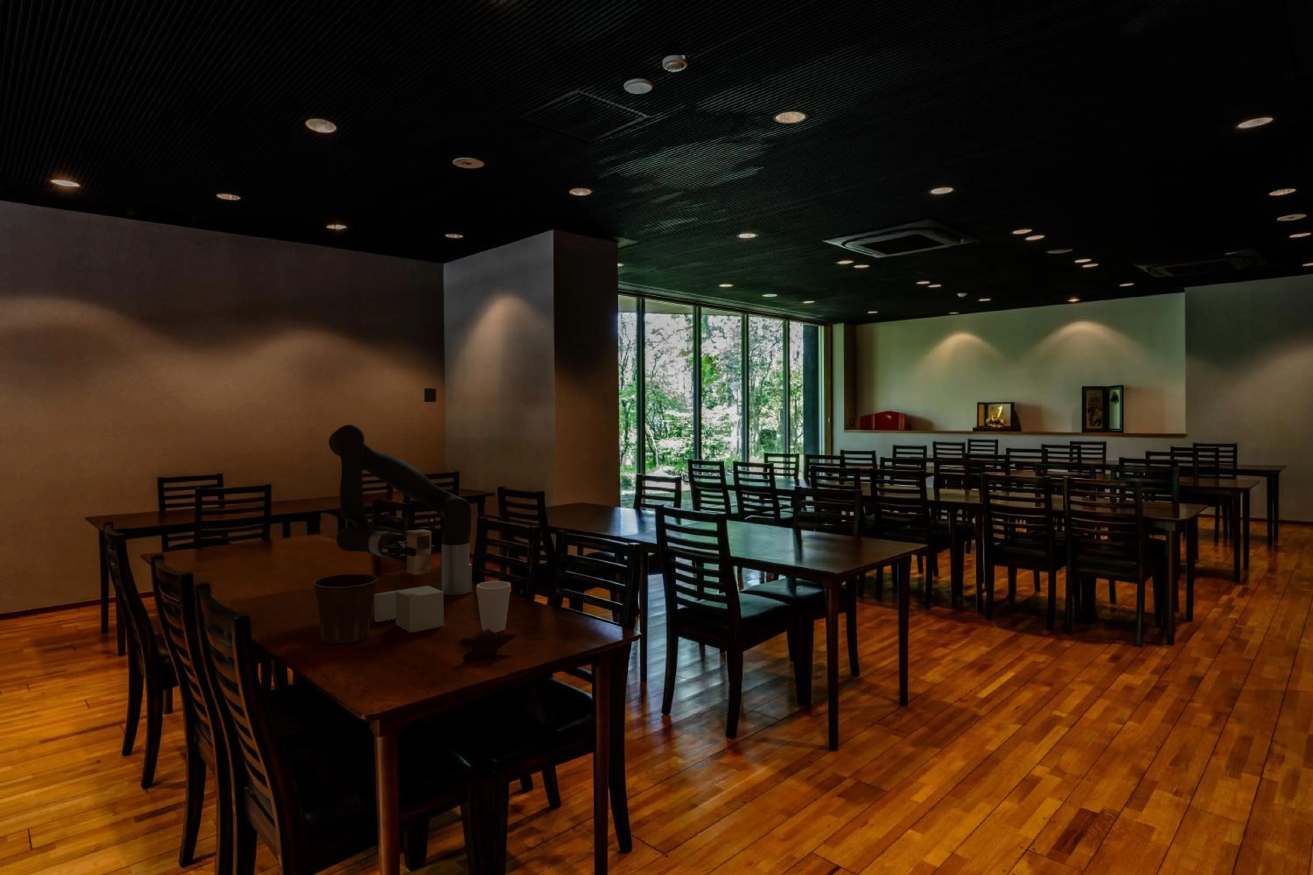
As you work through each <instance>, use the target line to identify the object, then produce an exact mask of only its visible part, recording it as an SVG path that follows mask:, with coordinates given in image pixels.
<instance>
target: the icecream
mask: <svg viewBox="0 0 1313 875" xmlns="http://www.w3.org/2000/svg"><path fill="white" fill-rule="evenodd" d="M516 637H517V634H515V633H505V632H500V633H494V632H492V631H491V630H489V629H487V630H485V631H481V632H479V633H478V634H477V635H476V636H475V638H473V637H469V636H466V637H463V638H461V639H460V640H459V645H460V646H461V647H463V648H464V647H465V648H471V649H472V650H470V651H467V652H466V653H464V654H463V656H462V661H464V662H469V661H472V660H474V659H475V658H477V657H478V656H481V657H491V656H492V655H493V657H495V655H496V654H497V653H498V650H500V649H501V648H502V647H503V646H505V645H506V644H508V643H509V642H511V641H512V640H513V639H515V638H516Z"/></svg>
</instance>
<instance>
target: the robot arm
mask: <svg viewBox="0 0 1313 875" xmlns="http://www.w3.org/2000/svg"><path fill="white" fill-rule="evenodd" d="M328 446H329V448H330V450H331V452H332V453H333V454H335V455H336V456H338V457H339V458H340V460H341V463H340V464H341V478H340V487H339V506H340V508H339V509H340V517H341V519H342V520H344V521H347V522H351V523H352V525H353V526H354V527H345V528H342V529H341V530H340V531H338V533H337V535H336V537H335V541H336V545H337V546H338V548H339V549H341V550H342V551H345V552H354V553H356V552H357V553H358V552H359V553H360V552H361V553H362V552H363V553H367V554H373V555H376V556H379V557H384V558H388V559H395V560H396V559H400V558H401V557H402V556H407V555H409V556H416V548H411V547H407V536H405V535H404V534H402V533H400V532H399V533H398V532H391V531H386V530H385V531H384V530H383V531H379V530H373V529H372V528H371V524H370V522H369V519H368V517H367V515H366V510H365V496H364V486H363V481H364V480H363V469H364V470H365V471H367V472H368V473H369V474H371V475H373V476H374V477H376V478H377V479H379V480H380V481H382V482H384V483H385V484H387V485H389V486H390V487H391V488H393V489H395V490H396V491H398V492H399V493H401V494H403V495H405V496H407V497H409V498H411V499H414V500H416V501H418V502H420V503H423V504H424V505H426V506H427V507H428V508H430V509H431V510H433V511H434V512H435V513H437V514H438V515H439V516H440V517H441V518H442V519H443V534H442V536H441V591H443V592H444V595H446V596H460V595H461V596H462V595H466V594H468V593H472V592H473V566H472V564H471V563H470V538H471V534H472V507H471V504H470V503H469V501H468V500H467V499H466V498H463V497H460V496H458V495H455V494H453V493H450V492H449V491H448V490H445V489H443V488H441V487H439V486H437V485H436V484H435V483H434V482H432V481H431V480H430V479H429V478H428V477H427V476H426V475H425V474H423V473H422V472H421V471H420V470H418V469H417V468H415V467H414V466H413V465H411V464H409V463H407V462H406V461H405V460H402V459H400V458H398V457H395V456H393V455H389V454H387V453H383V452H380V451H378V450H376V449H374V448H372V447H371V446H369V445H368V444H367V443H365V434H364V432H363V431H362V429H360V427H358V426H356V425H353V424H345V425H343V426H341V427H339V428H337V429H336V430H335V431H334V432H333V433H331V435H330V436H329V438H328ZM435 547H436V546H435V545H434V544H431V554H434V553H435Z"/></svg>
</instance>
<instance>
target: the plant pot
mask: <svg viewBox="0 0 1313 875" xmlns="http://www.w3.org/2000/svg"><path fill="white" fill-rule="evenodd" d="M377 582H378V577H377V576H376V575H372V574H368V573H342V574H334V575H328V576H325V577H320V578H318V579H317V578H316V579H315V580H314V581H313V582H312V585H313V586H314V589H315V598H316V599H317V606H318V615H319V616H318V618H319V629H320V631H319V632H320V640H321V641H322V643H324V644H327V645H335V644H337V643H338V644H340V645H347V644H355V642H356V643H358V642H361V641H364V640H366V639H368V637H369V636H370V632H371V621H372V613H373V612H372V610H373V602H374V600H373V599H374V595H375V594H376V583H377Z"/></svg>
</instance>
